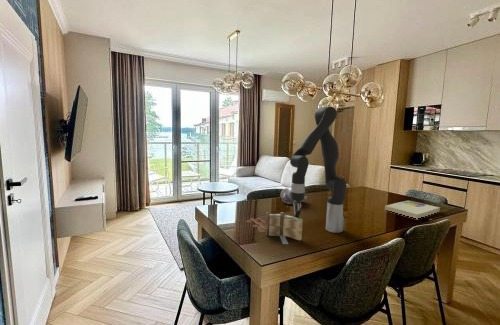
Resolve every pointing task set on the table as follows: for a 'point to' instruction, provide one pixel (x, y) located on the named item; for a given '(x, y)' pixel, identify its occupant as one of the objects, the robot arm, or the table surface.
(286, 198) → the toy elephant
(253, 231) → the table surface
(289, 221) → the gate panel
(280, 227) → the fixed leg
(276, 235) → the card
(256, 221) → the decorative fence
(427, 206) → the puzzle box
